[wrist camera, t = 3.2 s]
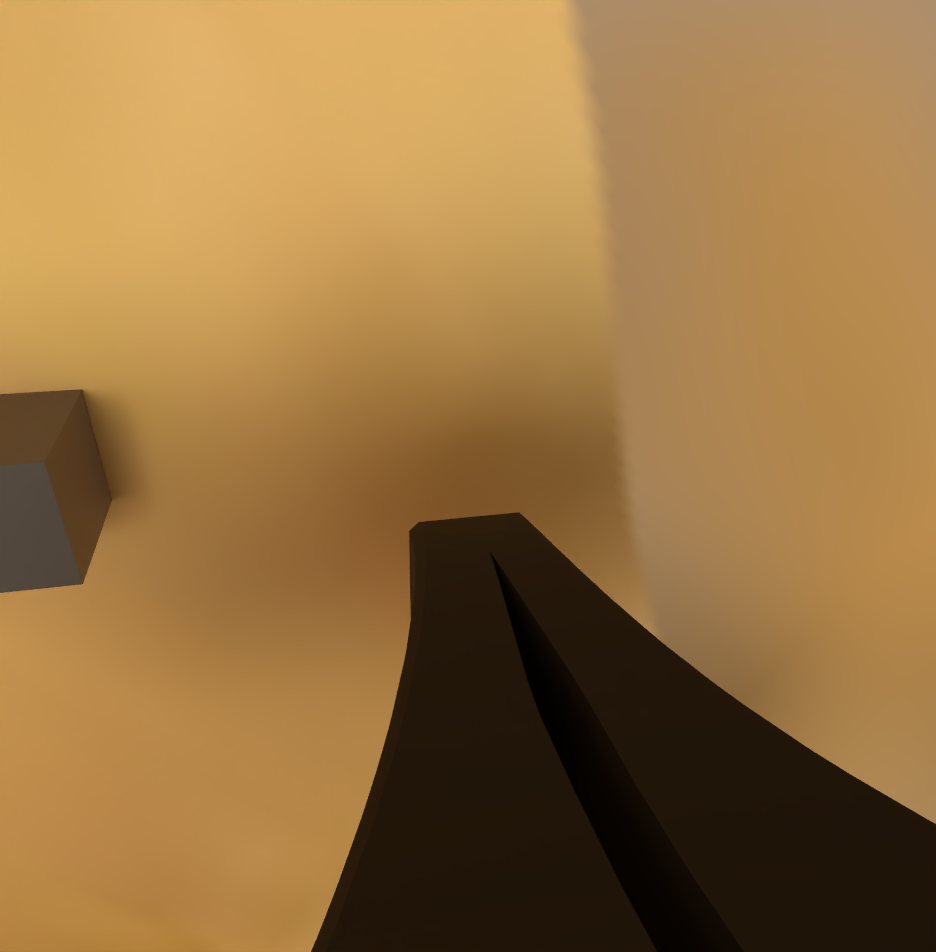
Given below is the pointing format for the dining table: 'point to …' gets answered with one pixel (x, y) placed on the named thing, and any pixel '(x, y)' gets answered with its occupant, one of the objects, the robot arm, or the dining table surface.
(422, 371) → the dining table surface
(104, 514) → the plug
